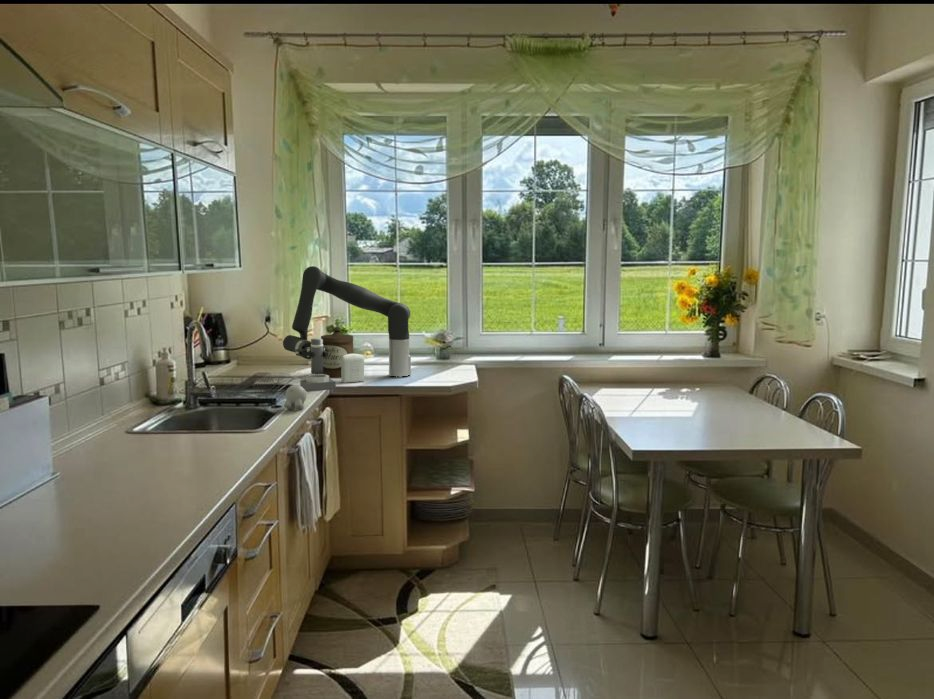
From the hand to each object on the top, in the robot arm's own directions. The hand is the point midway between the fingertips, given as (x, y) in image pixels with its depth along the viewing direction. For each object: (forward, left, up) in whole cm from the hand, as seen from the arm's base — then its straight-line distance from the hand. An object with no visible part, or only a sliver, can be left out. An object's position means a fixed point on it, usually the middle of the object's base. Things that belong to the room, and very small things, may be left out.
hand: (319, 354), depth 260 cm
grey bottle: (0, -3, -8) cm, 8 cm away
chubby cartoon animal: (+18, +30, -14) cm, 38 cm away
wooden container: (-18, -29, -14) cm, 37 cm away
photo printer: (-18, -10, -14) cm, 25 cm away
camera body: (0, -3, -14) cm, 14 cm away
